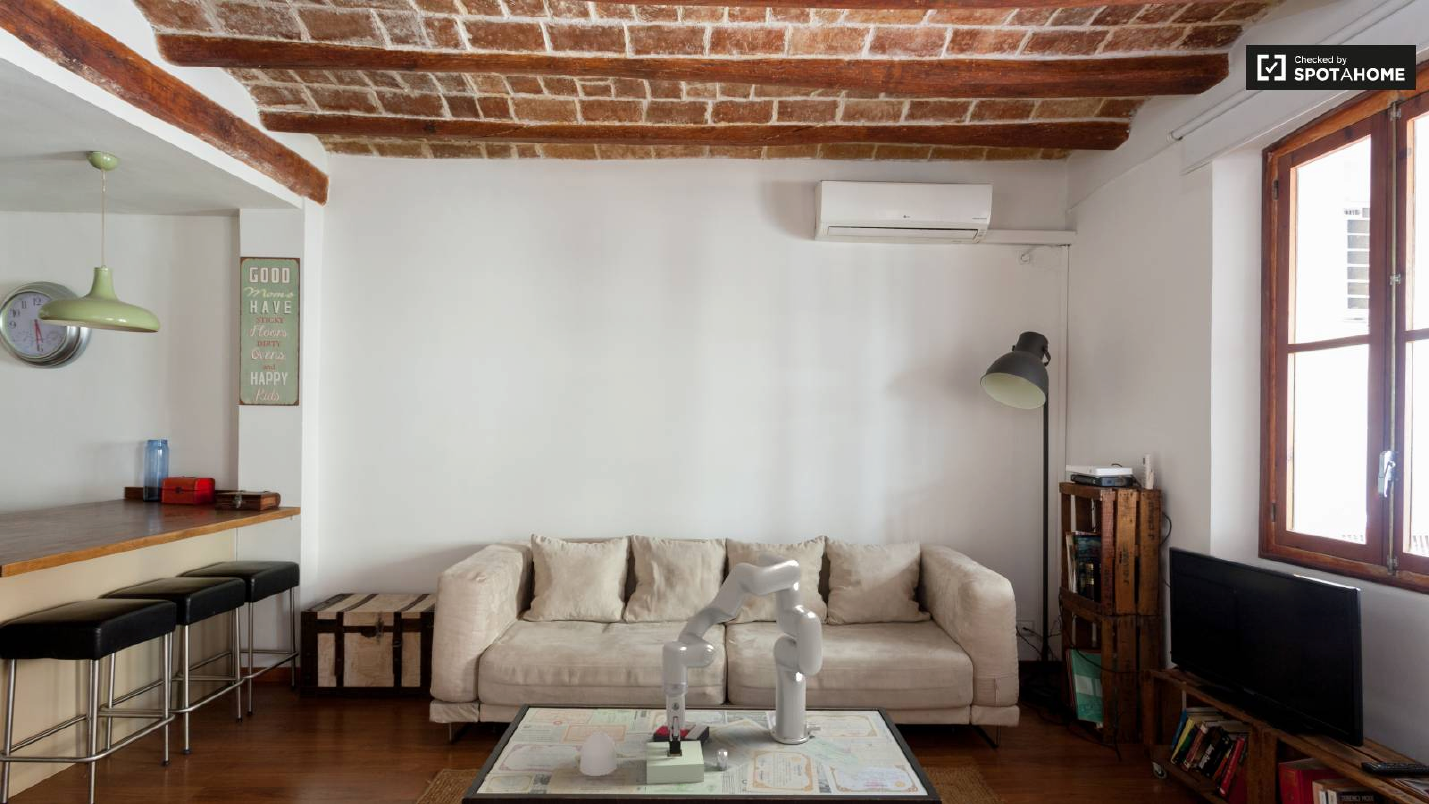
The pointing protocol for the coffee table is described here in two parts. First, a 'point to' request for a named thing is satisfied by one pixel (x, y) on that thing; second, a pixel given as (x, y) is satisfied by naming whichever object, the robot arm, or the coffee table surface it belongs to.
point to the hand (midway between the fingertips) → (674, 748)
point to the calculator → (684, 733)
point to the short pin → (722, 759)
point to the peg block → (674, 763)
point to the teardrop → (598, 754)
